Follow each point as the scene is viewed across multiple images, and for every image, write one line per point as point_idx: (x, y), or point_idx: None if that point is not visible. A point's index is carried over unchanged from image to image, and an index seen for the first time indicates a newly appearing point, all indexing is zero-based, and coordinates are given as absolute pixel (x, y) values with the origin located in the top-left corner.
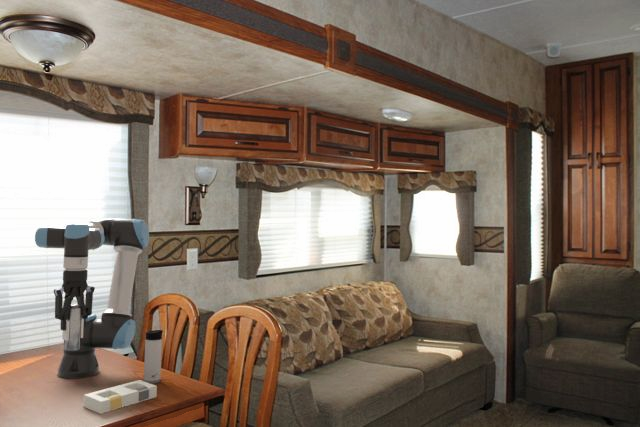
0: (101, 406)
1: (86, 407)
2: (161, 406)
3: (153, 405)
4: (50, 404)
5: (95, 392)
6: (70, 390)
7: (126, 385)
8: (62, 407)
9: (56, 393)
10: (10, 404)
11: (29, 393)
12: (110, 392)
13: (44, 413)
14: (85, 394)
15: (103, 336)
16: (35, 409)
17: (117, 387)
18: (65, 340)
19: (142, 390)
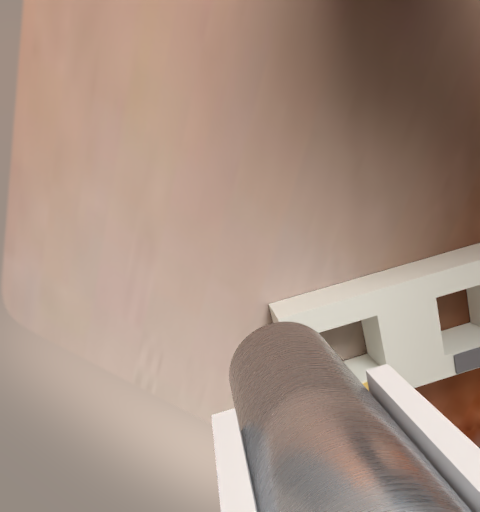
0: None
1: (273, 321)
2: (464, 421)
3: (451, 402)
4: (174, 218)
5: (323, 314)
6: (285, 84)
7: (450, 291)
8: (204, 274)
9: (226, 91)
10: (33, 130)
11: (126, 20)
12: (374, 317)
13: (134, 303)
14: (283, 319)
15: None
16: (113, 244)
17: (413, 297)
18: (241, 405)
19: (468, 369)
